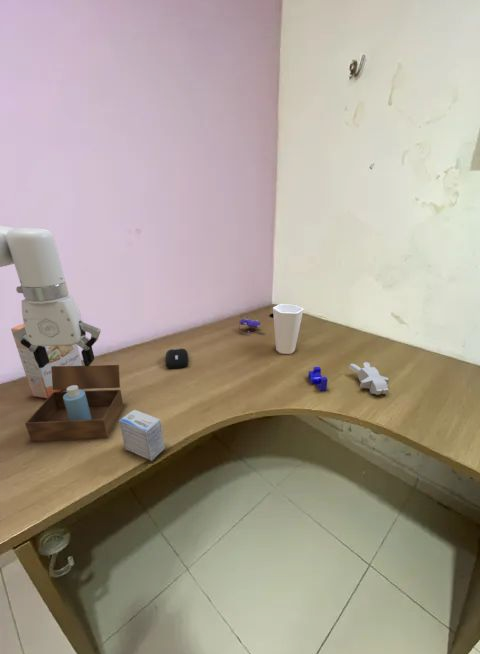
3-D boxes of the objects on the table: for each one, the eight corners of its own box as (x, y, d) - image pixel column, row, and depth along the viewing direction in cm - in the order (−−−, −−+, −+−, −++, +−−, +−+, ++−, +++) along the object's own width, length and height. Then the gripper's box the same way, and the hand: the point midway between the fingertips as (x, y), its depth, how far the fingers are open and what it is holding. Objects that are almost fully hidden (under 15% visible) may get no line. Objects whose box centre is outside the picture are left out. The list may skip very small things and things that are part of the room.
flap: (51, 366, 80) (51, 366, 80) (52, 389, 80) (53, 389, 81) (118, 364, 82) (118, 364, 82) (119, 387, 82) (120, 387, 83)
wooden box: (31, 441, 72) (24, 423, 69) (58, 408, 83) (53, 391, 81) (107, 437, 74) (103, 419, 71) (123, 405, 85) (120, 389, 83)
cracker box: (50, 400, 86) (29, 330, 77) (31, 397, 87) (8, 328, 78) (86, 375, 99) (71, 312, 90) (69, 372, 99) (53, 310, 91)
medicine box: (165, 449, 71) (161, 418, 67) (151, 462, 67) (146, 431, 64) (139, 438, 74) (134, 408, 70) (124, 450, 70) (118, 419, 67)
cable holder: (308, 377, 102) (309, 367, 101) (318, 377, 103) (319, 366, 101) (315, 391, 95) (316, 380, 94) (326, 390, 96) (327, 379, 94)
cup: (298, 345, 125) (302, 304, 118) (300, 356, 116) (304, 313, 109) (271, 343, 125) (273, 303, 118) (270, 355, 116) (272, 312, 109)
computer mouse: (187, 352, 116) (187, 342, 114) (188, 368, 105) (187, 357, 103) (166, 354, 114) (165, 344, 112) (165, 370, 103) (164, 359, 102)
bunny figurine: (370, 387, 91) (347, 359, 103) (366, 400, 93) (344, 371, 106) (398, 384, 93) (372, 356, 105) (393, 397, 96) (368, 368, 108)
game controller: (257, 317, 142) (266, 320, 134) (253, 334, 143) (261, 338, 134) (237, 312, 138) (245, 315, 129) (233, 330, 139) (240, 334, 130)
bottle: (67, 427, 76) (57, 393, 72) (75, 415, 80) (66, 383, 76) (87, 426, 76) (78, 392, 72) (94, 415, 80) (86, 382, 76)
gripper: (-13, 297, 60) (16, 374, 67) (83, 296, 62) (100, 371, 69) (12, 287, 66) (35, 358, 74) (97, 287, 69) (112, 355, 76)
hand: (67, 364), depth 71 cm, fingers open, 9 cm apart
